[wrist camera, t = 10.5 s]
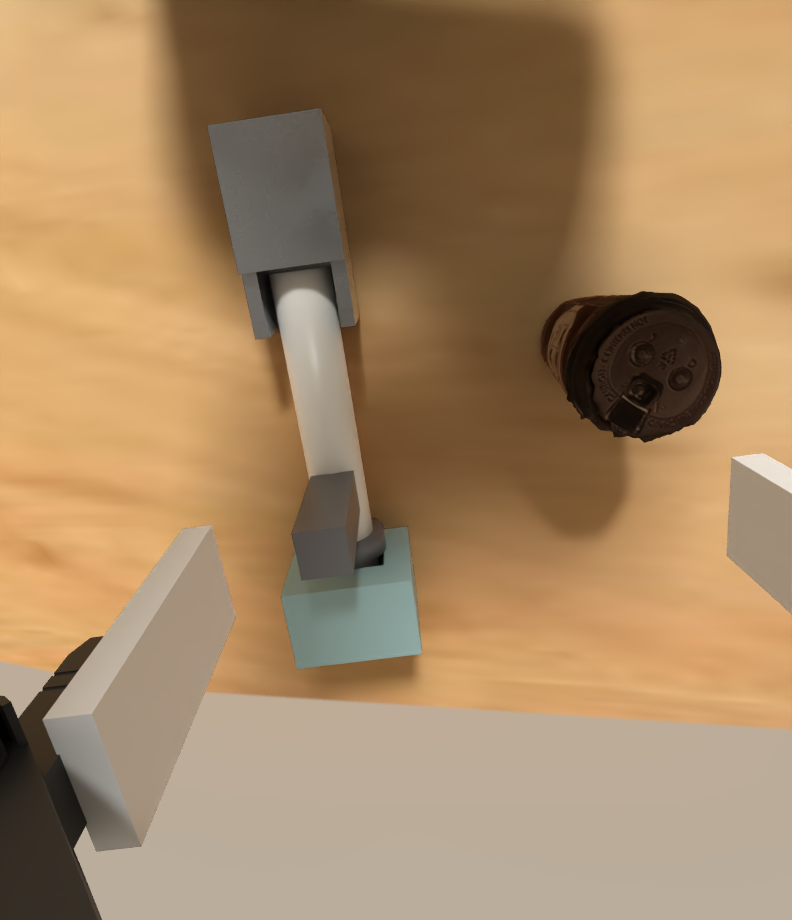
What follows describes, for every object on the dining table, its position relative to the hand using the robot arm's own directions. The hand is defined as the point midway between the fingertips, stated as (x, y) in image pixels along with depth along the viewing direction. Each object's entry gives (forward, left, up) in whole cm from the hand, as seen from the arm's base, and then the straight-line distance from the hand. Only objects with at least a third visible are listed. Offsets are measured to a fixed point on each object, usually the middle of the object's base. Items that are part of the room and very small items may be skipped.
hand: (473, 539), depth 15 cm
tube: (+5, -7, -31) cm, 32 cm away
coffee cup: (+1, +12, -31) cm, 33 cm away
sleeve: (-9, -7, -31) cm, 33 cm away
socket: (+17, -7, -31) cm, 36 cm away
